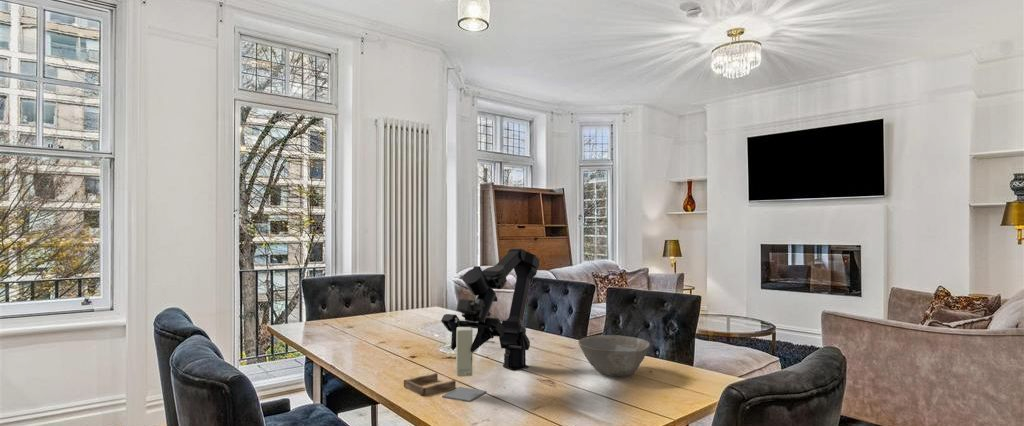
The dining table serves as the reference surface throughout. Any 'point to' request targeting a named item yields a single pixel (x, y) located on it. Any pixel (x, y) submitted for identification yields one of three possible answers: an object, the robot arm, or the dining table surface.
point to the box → (463, 351)
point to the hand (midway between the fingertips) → (461, 350)
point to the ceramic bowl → (614, 353)
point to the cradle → (415, 387)
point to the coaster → (464, 394)
